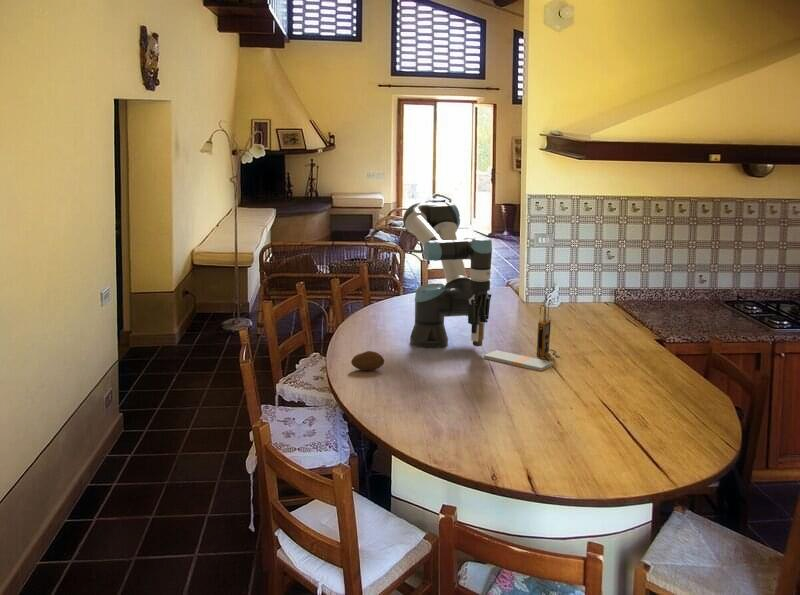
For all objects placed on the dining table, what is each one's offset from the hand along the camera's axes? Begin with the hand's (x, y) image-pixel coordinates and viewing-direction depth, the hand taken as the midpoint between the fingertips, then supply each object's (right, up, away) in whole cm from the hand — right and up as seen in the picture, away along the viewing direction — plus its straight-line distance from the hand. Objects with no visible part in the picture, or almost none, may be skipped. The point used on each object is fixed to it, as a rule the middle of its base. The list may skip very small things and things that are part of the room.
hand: (477, 339), depth 294 cm
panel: (+14, -8, -9) cm, 18 cm away
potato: (-41, -10, -21) cm, 47 cm away
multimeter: (+28, -6, 0) cm, 29 cm away
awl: (0, -2, +1) cm, 2 cm away
